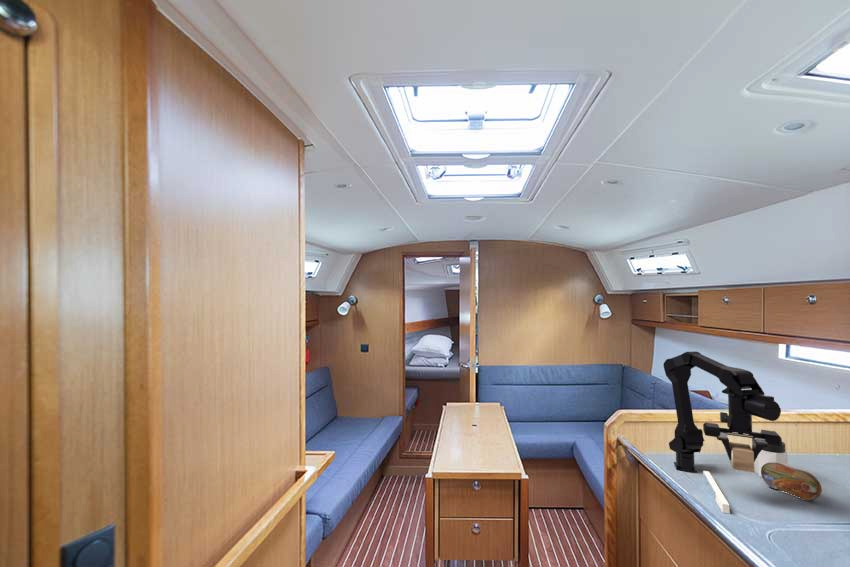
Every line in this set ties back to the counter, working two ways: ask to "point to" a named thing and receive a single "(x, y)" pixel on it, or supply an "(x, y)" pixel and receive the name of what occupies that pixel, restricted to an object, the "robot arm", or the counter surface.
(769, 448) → the jar
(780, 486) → the tin
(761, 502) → the counter surface
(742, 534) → the counter surface
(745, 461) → the tea box
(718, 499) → the rail
